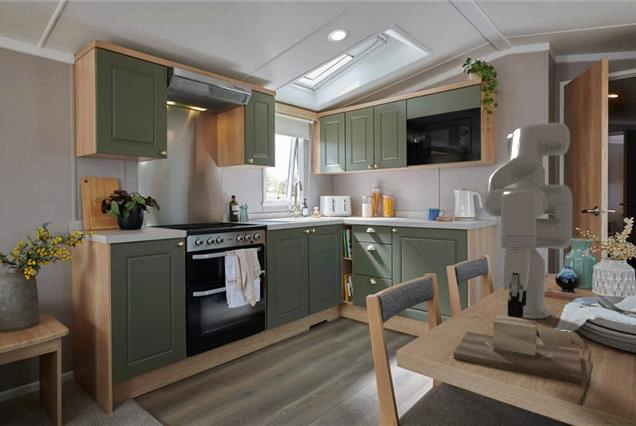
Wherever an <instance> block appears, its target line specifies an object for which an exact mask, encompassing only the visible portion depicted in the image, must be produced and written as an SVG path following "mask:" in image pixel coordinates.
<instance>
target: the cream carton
mask: <svg viewBox="0 0 636 426" xmlns="http://www.w3.org/2000/svg"><path fill="white" fill-rule="evenodd" d="M537 326H538V321H537V320H533V319H531V320H530V319H526V318H515V317H509V316H505V315H496V316H495V317H494V320H493V327H492V330H493V331H492V333H493V334H492V335H493V351H496V352H501V353H506V354H511V355H517V356H522V357H527V358H533V359H535V357H536V344H537V340H538V339H537V336H538V334H537V333H538V331H537V328H538V327H537Z"/></svg>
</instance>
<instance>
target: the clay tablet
mask: <svg viewBox="0 0 636 426" xmlns="http://www.w3.org/2000/svg"><path fill="white" fill-rule="evenodd" d="M558 329H559V328H558ZM558 329H556V328H540V327H537V333H538V334H537V335H539V338H540V339H541V342H542V343H543V344H542V345H547V346H553V347H559V348H565V349H578V350H579V349H580V350H586V347H587V346H586V344H585V342H584V341H583V339H582V337H580V335H579V334H578V333H576V332H575V331H572V330H571V331H572V332H568V331H561V330H558Z"/></svg>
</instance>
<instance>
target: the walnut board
mask: <svg viewBox="0 0 636 426" xmlns="http://www.w3.org/2000/svg"><path fill="white" fill-rule="evenodd" d="M453 359H454V360H455V359H457V360H460V361H465V362H471V363H474V364H480V365H484V366H490V367H493V368H499V369H504V370H507V371H508V370H510V371H514V372H518V373H523V374H527V375H533V376H537V377H543V378H548V379H552V380H557V381H561V382H566V383H571V384H576V385H580V386H581V385H583V374H582V365H581V364H582V363H581V357H580V351H579V350H575V349H571V348H564V347H553V346H547V345H544V344H540V343H536V357H535V359H533V358H527V357H522V356H517V355H511V354H506V353H501V352H496V351H493V336H492V335H488V334H481V333H477V332H470V331H466V333H465V334H464V336H463V337H462V339H461V341H460V342H459V343H458V345H457V347H456V348H455V349H454V350H453Z"/></svg>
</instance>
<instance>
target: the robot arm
mask: <svg viewBox="0 0 636 426" xmlns="http://www.w3.org/2000/svg"><path fill="white" fill-rule="evenodd" d="M570 142H571V134H570V129H569V128H568V126H567V125H566V124H564V123H562V122H550V123H549V122H548V123H540V124H539V123H537V124H527V125H523V126H520V127H518V128H517V129H516V130H515V131H513V132H511V133H510V134H508V136H507V137H506V141H505V143H506V144H505V145H506V150H507V153H508V161H507V162H505V163H504V164H502V165H501V166H500V167H499V168H497V169H496V170H495V171H494V172H493V173H492V174H491V175H490V177H489V179H488V181H487V185H486V190H485V195H484V196H485V197H484V210H485V212H486V214H488V215H489V216H491V217H494V218H500V247H501V248H502V249H504V257H503V259H504V260H503V279H502V281H503V282H502V283H503V284H502V288H503V289H504V290H505V291H507V289H508V299H507V306H506V312H507V317H511V318H518V319H531V320H533V319H535V320H536V319H537V320H539V319H540V320H542V319H547V318H549V317H550V315H551V314H550V311H549V310H548V309H547V308H545V292H546V291H545V287H546V285H545V284H546V282H545V281H546V279H545V277H546V276H545V275H546V261H545V258H544V257H543V256H542V254H541V253H540V252H539V251H538V250H537V249H557V250H561V249H562V250H564V249H567V248H569V247H570V246H571V243H572V241H573V193H572V190H571V189H570V187H569V186H568V185H564V184H546V169H545V168H544V166H543V163H544V161H543V160H544V157H549V156H551V157H552V156H563V155H565V154H566V153H567V152H568V150H569V148H570ZM514 184H515V188H513V187H512V188H510V187H509V186H511V185H514ZM508 187H509V188H508ZM543 215H553V216H554V217H555V218H541V216H543ZM539 217H540V218H539Z"/></svg>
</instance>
